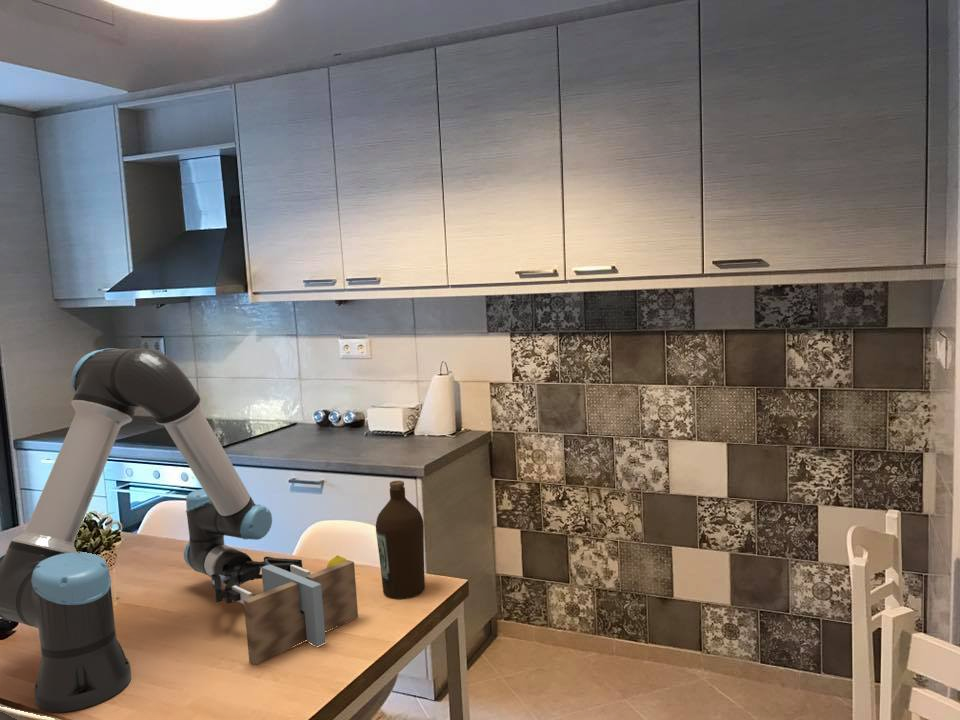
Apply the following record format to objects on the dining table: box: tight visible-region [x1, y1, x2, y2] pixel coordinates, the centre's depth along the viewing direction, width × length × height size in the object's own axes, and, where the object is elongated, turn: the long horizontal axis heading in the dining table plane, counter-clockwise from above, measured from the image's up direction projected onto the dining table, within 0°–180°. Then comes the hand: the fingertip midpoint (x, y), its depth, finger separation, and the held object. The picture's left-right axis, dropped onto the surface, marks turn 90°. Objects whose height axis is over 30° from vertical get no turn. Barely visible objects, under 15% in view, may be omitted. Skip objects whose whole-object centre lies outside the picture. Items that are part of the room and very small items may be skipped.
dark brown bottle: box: [375, 480, 426, 600], centre depth 166 cm, size 11×11×25 cm
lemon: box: [326, 555, 348, 568], centre depth 169 cm, size 6×6×8 cm
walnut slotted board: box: [243, 559, 359, 666], centre depth 146 cm, size 24×2×12 cm, turn 137°
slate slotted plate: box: [261, 564, 327, 647], centre depth 148 cm, size 18×2×12 cm, turn 48°
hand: (281, 588), depth 151 cm, fingers open, 13 cm apart
